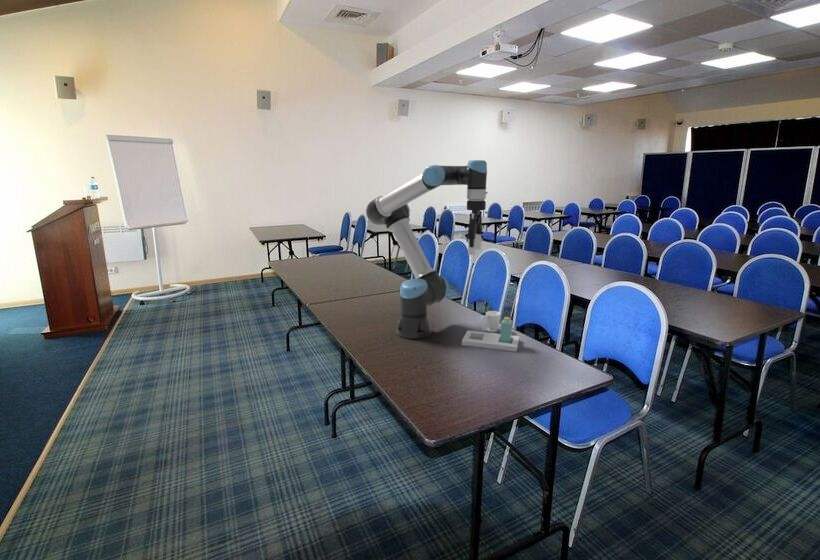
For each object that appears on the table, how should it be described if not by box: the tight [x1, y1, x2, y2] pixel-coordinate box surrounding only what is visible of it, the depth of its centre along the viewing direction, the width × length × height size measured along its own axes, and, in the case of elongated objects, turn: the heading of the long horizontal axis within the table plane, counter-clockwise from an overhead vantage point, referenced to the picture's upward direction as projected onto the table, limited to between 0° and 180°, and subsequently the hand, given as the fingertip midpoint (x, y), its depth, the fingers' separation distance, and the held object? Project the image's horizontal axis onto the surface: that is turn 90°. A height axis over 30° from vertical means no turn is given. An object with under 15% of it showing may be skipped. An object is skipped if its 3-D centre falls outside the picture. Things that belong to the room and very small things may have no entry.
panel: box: [461, 330, 520, 353], centre depth 174 cm, size 22×12×2 cm, turn 71°
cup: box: [478, 310, 502, 333], centre depth 187 cm, size 7×10×8 cm
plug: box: [500, 316, 513, 343], centre depth 171 cm, size 4×4×12 cm
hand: (474, 252), depth 173 cm, fingers open, 13 cm apart
